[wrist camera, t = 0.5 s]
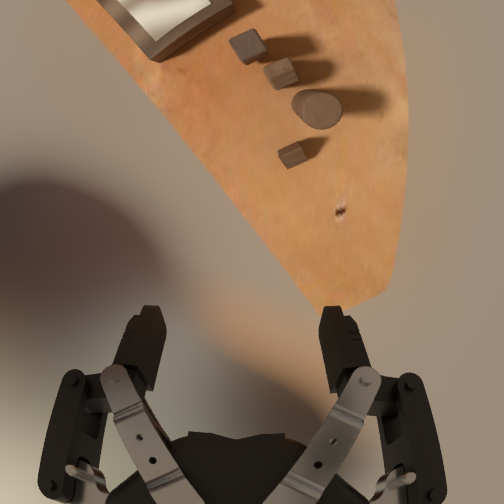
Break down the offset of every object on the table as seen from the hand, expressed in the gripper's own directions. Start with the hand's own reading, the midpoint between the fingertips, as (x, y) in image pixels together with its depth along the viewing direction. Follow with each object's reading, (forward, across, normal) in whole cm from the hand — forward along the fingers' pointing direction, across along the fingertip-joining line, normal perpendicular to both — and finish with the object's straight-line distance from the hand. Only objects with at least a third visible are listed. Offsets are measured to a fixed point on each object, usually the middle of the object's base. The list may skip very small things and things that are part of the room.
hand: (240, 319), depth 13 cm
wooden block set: (+28, -5, -10) cm, 30 cm away
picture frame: (+28, +11, -25) cm, 39 cm away
